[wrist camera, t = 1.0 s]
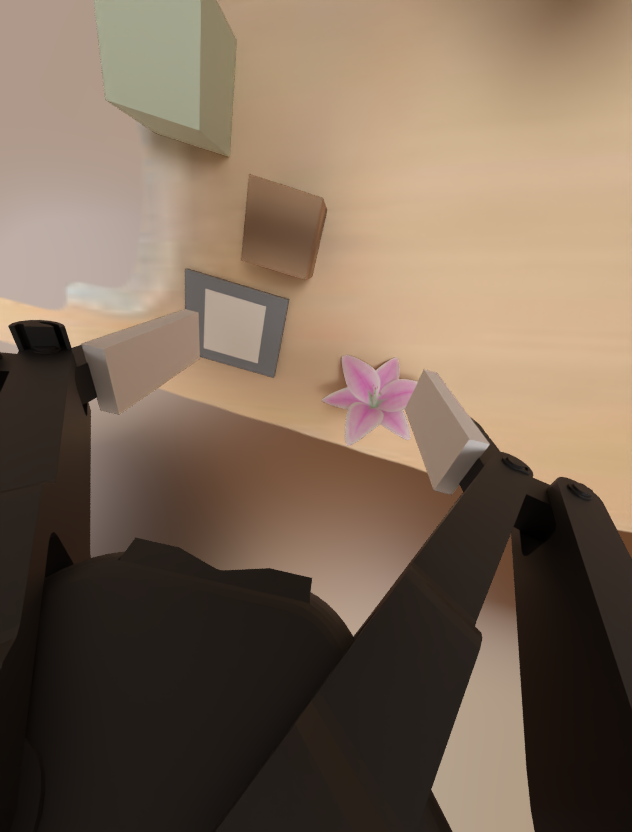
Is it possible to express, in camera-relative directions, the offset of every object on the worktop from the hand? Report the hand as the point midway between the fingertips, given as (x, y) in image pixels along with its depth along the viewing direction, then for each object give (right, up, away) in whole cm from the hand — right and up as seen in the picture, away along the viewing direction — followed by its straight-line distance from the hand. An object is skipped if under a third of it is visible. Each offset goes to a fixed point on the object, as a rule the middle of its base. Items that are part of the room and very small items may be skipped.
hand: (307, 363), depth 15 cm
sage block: (-10, +25, +7) cm, 28 cm away
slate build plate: (-10, +8, +17) cm, 21 cm away
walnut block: (-2, +16, +12) cm, 20 cm away
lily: (+8, +2, +20) cm, 21 cm away
